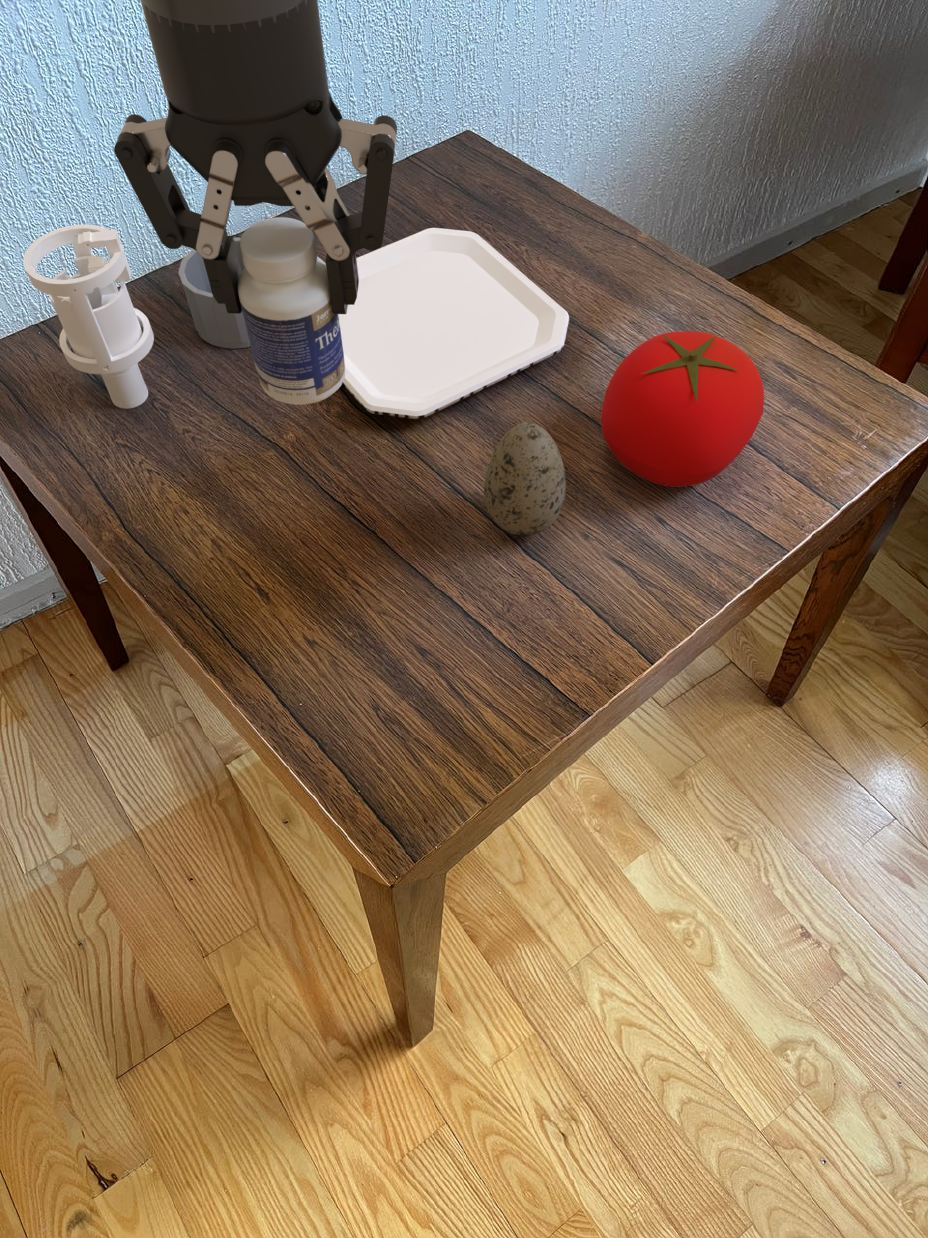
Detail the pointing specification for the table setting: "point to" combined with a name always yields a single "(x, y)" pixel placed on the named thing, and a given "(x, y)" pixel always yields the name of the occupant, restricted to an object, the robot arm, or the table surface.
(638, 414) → the tomato
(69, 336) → the white ringed tube holder
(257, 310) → the pill bottle
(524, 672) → the table surface
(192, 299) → the grey faceted pot
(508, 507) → the decorative egg
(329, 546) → the table surface
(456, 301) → the plate
